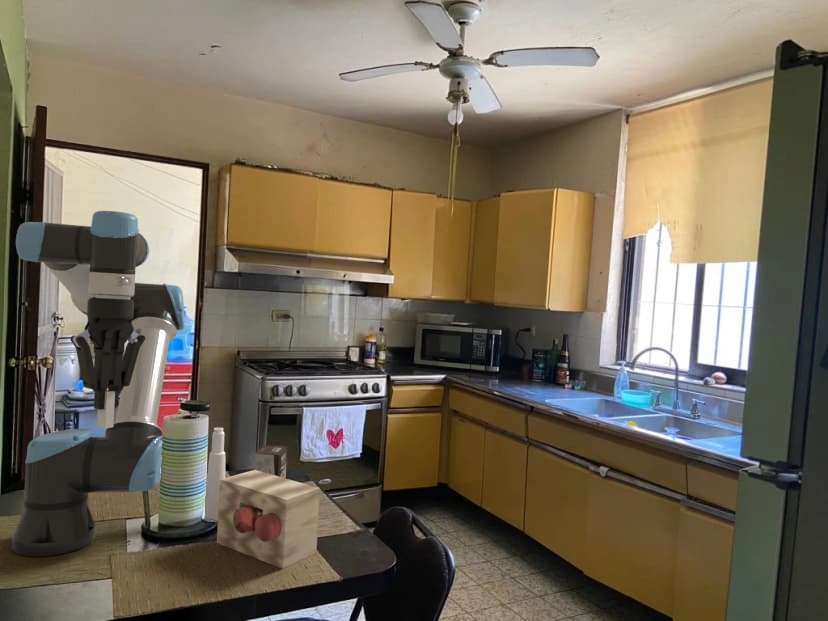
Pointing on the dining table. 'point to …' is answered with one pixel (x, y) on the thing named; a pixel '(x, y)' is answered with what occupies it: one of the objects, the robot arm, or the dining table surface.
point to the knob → (246, 518)
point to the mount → (270, 517)
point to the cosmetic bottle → (215, 474)
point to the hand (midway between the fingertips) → (105, 426)
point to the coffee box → (271, 460)
